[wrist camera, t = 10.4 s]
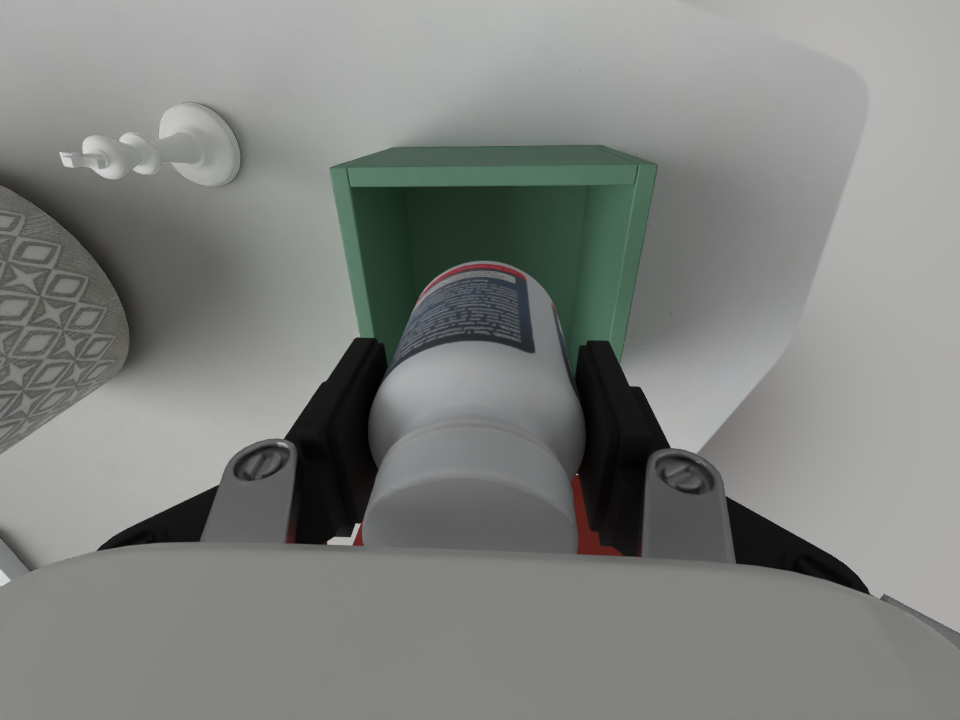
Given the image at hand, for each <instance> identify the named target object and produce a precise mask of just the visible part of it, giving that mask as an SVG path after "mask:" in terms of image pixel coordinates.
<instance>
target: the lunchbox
mask: <svg viewBox="0 0 960 720" xmlns="http://www.w3.org/2000/svg"><path fill="white" fill-rule="evenodd" d="M657 167H658V165H657V164H655V163H652V162H649V161H646V160H644V159H641V158H638V157H635V156H632V155H629V154H626V153H623V152H620V151H617V150H614V149H611V148H608V147H605V146H603V145H561V146H480V147H399V148H389V149H387V150H383V151H380V152H377V153H374V154H371V155H367V156H364V157H361V158H358V159H355V160H352V161H348V162H345V163H342V164H339V165H336V166H332V167H330V169H329V170H330V175H331V181H332V186H333V191H334V197H335V202H336V208H337V213H338V218H339V224H340V229H341V234H342V240H343V245H344V251H345V256H346V261H347V267H348V272H349V278H350V283H351V288H352V294H353V299H354V305H355V310H356V315H357V321H358V326H359V331H360V337H361V338H376V339H377V340H378V343H383V344H384V346H385V351H386V358H387V364H388V366H389V364H390V361H391V359H392V357H393V355H394V352H395V350H396V348H397V346H398V343H399V341H400V339H401V337H402V335H403V332H404V330H405V328H406V325H407V323H408V321H409V319H410V316H411V314H412V312H413V309H414V307H415V305H416V303H417V301H418V299H419V297H420V295H421V294H422V292H423V291H424V289H425V288H426V287H427V286H428V285H429V284H430V282H432V281H433V280H434V279H435V278H436V277H437V276H439V275H440V274H442V273H443V272H445V271H447V270H448V269H450V268H453V267H455V266H457V265H461V264H464V263H468V262H474V261H494V262H500V263H504V264H508V265H511V266H513V267H516V268H518V269H520V270H522V271H523V272H525V273H527V274H528V275H529V276H531V277H532V278H533V279H535V280H536V281H537V282H538V283H539V284H540V285H541V286H542V287H543V288H544V289H545V291H546V292H547V294H548V295H549V297H550V298H551V300H552V302H553V304H554V307H555V309H556V312H557V314H558V317H559V321H560V325H561V329H562V332H563V336H564V340H565V344H566V348H567V352H568V355H569V359H570V363H571V367H572V370H573V374H574V378H575V374H576V366H577V358H578V350H579V346H580V345H586V342H587V341H588V340H605V341H609V342H610V345H611V347H612V349H613V351H614V353H615V356H616V358H617V360H618V362H619V364H620V362H621V356H622V351H623V346H624V341H625V335H626V330H627V325H628V320H629V314H630V309H631V304H632V299H633V293H634V288H635V283H636V278H637V272H638V267H639V262H640V257H641V251H642V246H643V241H644V235H645V230H646V225H647V220H648V214H649V209H650V204H651V199H652V193H653V188H654V183H655V178H656V172H657ZM576 474H578V471H577V473H576Z"/></svg>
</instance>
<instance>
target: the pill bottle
mask: <svg viewBox="0 0 960 720" xmlns="http://www.w3.org/2000/svg"><path fill="white" fill-rule="evenodd" d="M368 441H369V446H370V450H371V454H372V457H373V460H374V462H375V464H376V466H377V468H378V473H377V476H376V479H375V483H374V487H373V490H372V493H371V496H370V499H369V502H368V506H367V509H366V512H365V516H364V520H363V524H362V538H363V544H364V546H378V547H405V548H432V549H459V550H485V551H510V552H534V553H557V554H577V551H578V530H577V522H576V515H575V509H574V494H573V489H572V485H571V481H572V480H573V478H574V476H575V475H576V473H577V471H578V469H579V467H580V465H581V463H582V460H583V456H584V452H585V447H586V425H585V419H584V413H583V408H582V404H581V400H580V397H579V393H578V389H577V386H576V382H575V378H574V374H573V370H572V367H571V363H570V359H569V355H568V352H567V348H566V344H565V340H564V336H563V332H562V329H561V325H560V321H559V317H558V314H557V312H556V309H555V307H554V304H553V302H552V300H551V298H550V297H549V295H548V294H547V292H546V291H545V289H544V288H543V287H542V286H541V285H540V284H539V283H538V282H537V281H536V280H535V279H533V278H532V277H531V276H529V275H528V274H527V273H525V272H523V271H522V270H520V269H518V268H516V267H513V266H511V265H508V264H504V263H500V262H494V261H474V262H468V263H464V264H461V265H457V266H455V267H453V268H450V269H448V270H447V271H445V272H443V273H442V274H440V275H439V276H437V277H436V278H435V279H434V280H433V281H432V282H430V284H429V285H428V286H427V287H426V288H425V289H424V291H423V292H422V294H421V295H420V297H419V299H418V301H417V303H416V305H415V307H414V309H413V312H412V314H411V316H410V319H409V321H408V323H407V325H406V328H405V330H404V332H403V335H402V337H401V339H400V341H399V343H398V346H397V348H396V350H395V352H394V355H393V357H392V359H391V361H390V364H389V366H388V368H387V370H386V372H385V375H384V377H383V379H382V382H381V384H380V386H379V388H378V391H377V393H376V396H375V398H374V401H373V404H372V407H371V410H370V415H369V419H368Z"/></svg>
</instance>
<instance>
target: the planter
mask: <svg viewBox="0 0 960 720" xmlns="http://www.w3.org/2000/svg"><path fill="white" fill-rule="evenodd" d="M129 343H130V338H129V327H128V323H127V319H126V315H125V311H124V309H123V306H122V304H121V302H120V299H119V297H118V295H117V293H116V291H115V289H114V287H113V286H112V284H111V282H110V281H109V279H108V277H107V276H106V274H105V273H104V271H103V270H102V269H101V268H100V266H99V265H98V264H97V262H96V261H95V260H94V258H93V257H92V256H91V255H90V254H89V252H88V251H87V250H86V249H85V248H84V247H83V246H82V245H81V244H80V243H79V242H78V241H77V239H76V238H75V237H73V236H72V235H71V234H70V233H69V232H68V231H67V230H66V229H65V228H63V227H62V226H61V225H60V224H59V223H58V222H57V221H56V220H54V219H53V218H52V217H50V216H49V215H48V214H46V213H45V212H44V211H42V210H41V209H40V208H38V207H37V206H36V205H34V204H33V203H31V202H29V201H28V200H26V199H24V198H23V197H21V196H20V195H18V194H16V193H15V192H13V191H11V190H10V189H7V188H5V187H3V186H1V185H0V454H2V453H3V452H5V451H6V450H8V449H9V448H10V447H12V446H13V445H15V444H16V443H18V442H19V441H21V440H22V439H24V438H25V437H27V436H28V435H30V434H31V433H33V432H34V431H36V430H37V429H39V428H40V427H41V426H43V425H44V424H46V423H47V422H49V421H50V420H52V419H53V418H55V417H56V416H58V415H59V414H61V413H62V412H64V411H65V410H67V409H68V408H69V407H71V406H72V405H74V404H75V403H77V402H78V401H80V400H81V399H83V398H84V397H86V396H87V395H89V394H90V393H92V392H93V391H95V390H96V389H98V388H99V387H100V386H102V385H103V384H105V383H106V382H108V381H109V380H110V379H112V378H113V377H114V376H115V375H117V373H118V372H119V371H120V369H121V368H122V367H123V365H124V363H125V360H126V358H127V355H128V350H129Z"/></svg>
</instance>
